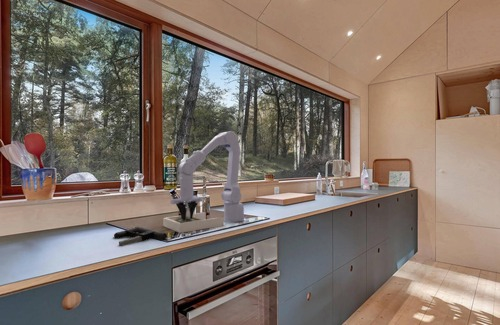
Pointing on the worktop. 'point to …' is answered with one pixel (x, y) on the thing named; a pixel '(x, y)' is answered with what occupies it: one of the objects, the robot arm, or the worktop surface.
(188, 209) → the handle
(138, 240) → the door handle
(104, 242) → the worktop surface
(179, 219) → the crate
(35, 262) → the worktop surface
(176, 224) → the tray
